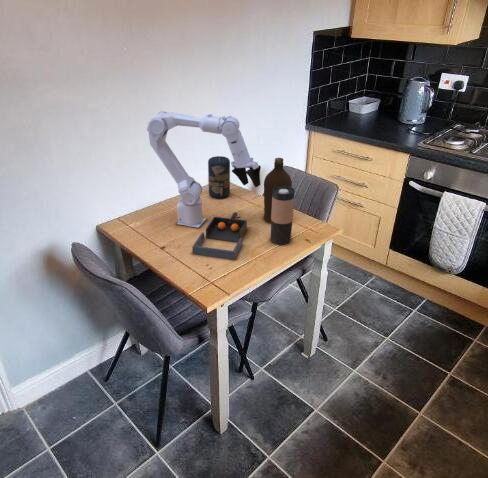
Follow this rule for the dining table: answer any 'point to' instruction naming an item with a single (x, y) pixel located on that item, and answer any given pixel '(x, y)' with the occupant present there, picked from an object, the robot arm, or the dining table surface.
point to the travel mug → (282, 214)
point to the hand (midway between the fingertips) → (251, 185)
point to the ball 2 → (234, 227)
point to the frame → (215, 252)
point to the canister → (219, 176)
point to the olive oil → (274, 185)
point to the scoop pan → (226, 229)
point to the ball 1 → (221, 225)
